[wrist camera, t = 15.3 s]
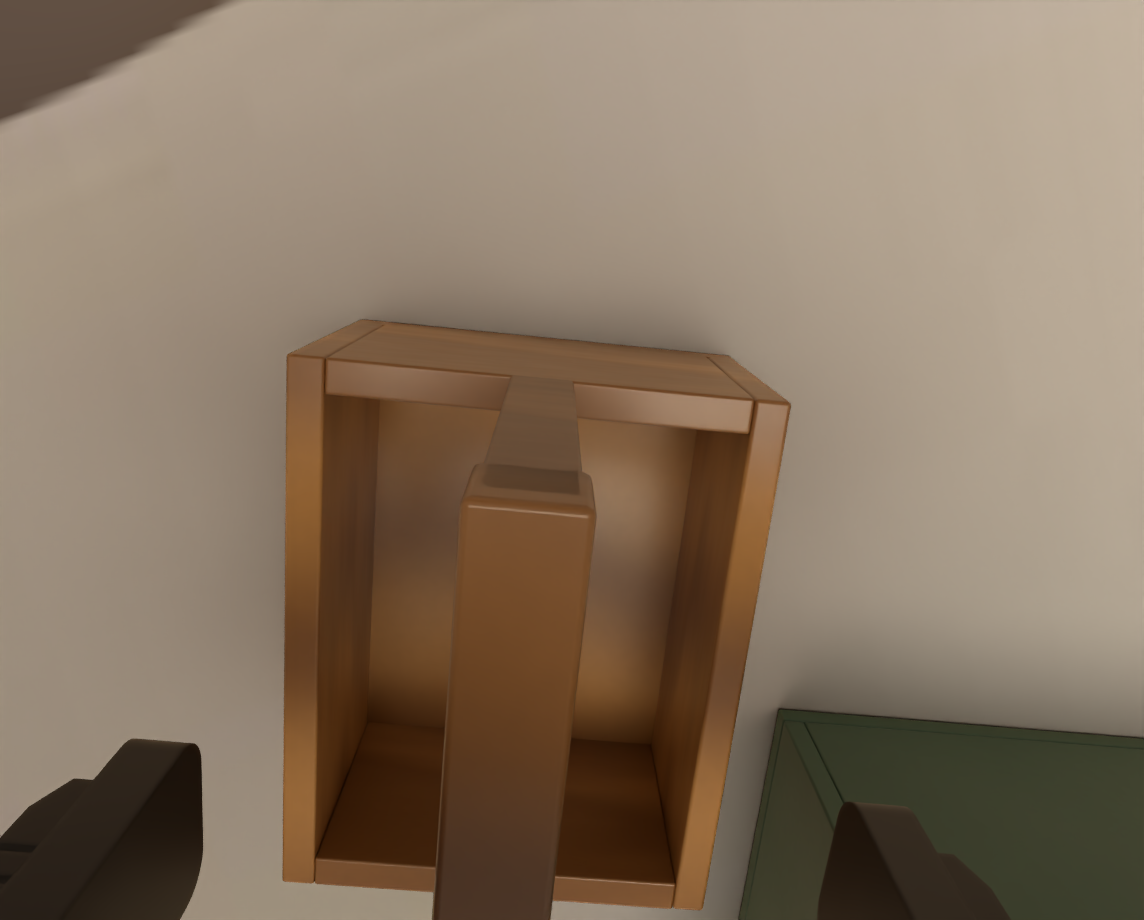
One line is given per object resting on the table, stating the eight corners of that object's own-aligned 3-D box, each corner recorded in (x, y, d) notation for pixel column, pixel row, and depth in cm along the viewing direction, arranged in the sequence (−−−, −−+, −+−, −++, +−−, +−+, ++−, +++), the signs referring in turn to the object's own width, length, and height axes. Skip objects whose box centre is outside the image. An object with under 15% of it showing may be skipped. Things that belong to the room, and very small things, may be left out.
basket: (669, 752, 21) (788, 1315, 10) (347, 727, 20) (113, 1281, 10) (730, 355, 18) (981, 545, 7) (360, 318, 18) (54, 460, 7)
